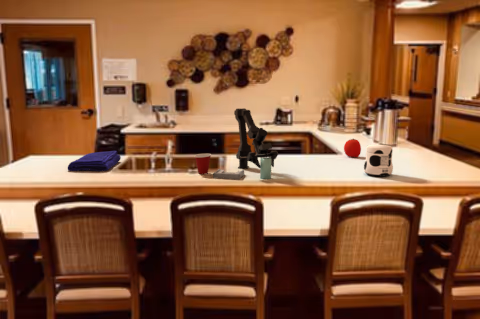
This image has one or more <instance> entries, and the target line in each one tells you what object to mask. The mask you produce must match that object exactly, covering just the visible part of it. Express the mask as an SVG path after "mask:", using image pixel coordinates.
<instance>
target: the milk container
mask: <svg viewBox="0 0 480 319" xmlns="http://www.w3.org/2000/svg"><path fill="white" fill-rule="evenodd" d="M365 151H366V152H365V161H364V164H363V170H364V173H365V174H366V175H368V176H374V177H387V176H390V175H392V174H393V170H394V165H393V146H391V145H387V144H386V145H385V144H368V145H367V146H366V150H365Z"/></svg>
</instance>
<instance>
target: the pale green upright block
mask: <svg viewBox="0 0 480 319" xmlns="http://www.w3.org/2000/svg"><path fill="white" fill-rule="evenodd" d="M259 163H260V167H261V168H259V169H260V172H259V177H260V179H261V180H271V179H272V165H271V158H269V157H263V158H260V161H259Z"/></svg>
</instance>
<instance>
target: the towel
mask: <svg viewBox="0 0 480 319" xmlns="http://www.w3.org/2000/svg"><path fill="white" fill-rule="evenodd" d="M118 153H119V152H118V151H117V150H110V151H99V152H91V153H86V154H84V155H83V156H81V157H79V158H78V159H74V160H73V161H71V162H70V163H69V164H68V165H67V170H68V172H79V171H85V172H87V171H89V172H90V171H92V172H106V171H108V170H109V169H111V168H112V167H114V166H116V165H117V164H118V163H119V161H121V158H122V157H121V155H120V154H118Z"/></svg>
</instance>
